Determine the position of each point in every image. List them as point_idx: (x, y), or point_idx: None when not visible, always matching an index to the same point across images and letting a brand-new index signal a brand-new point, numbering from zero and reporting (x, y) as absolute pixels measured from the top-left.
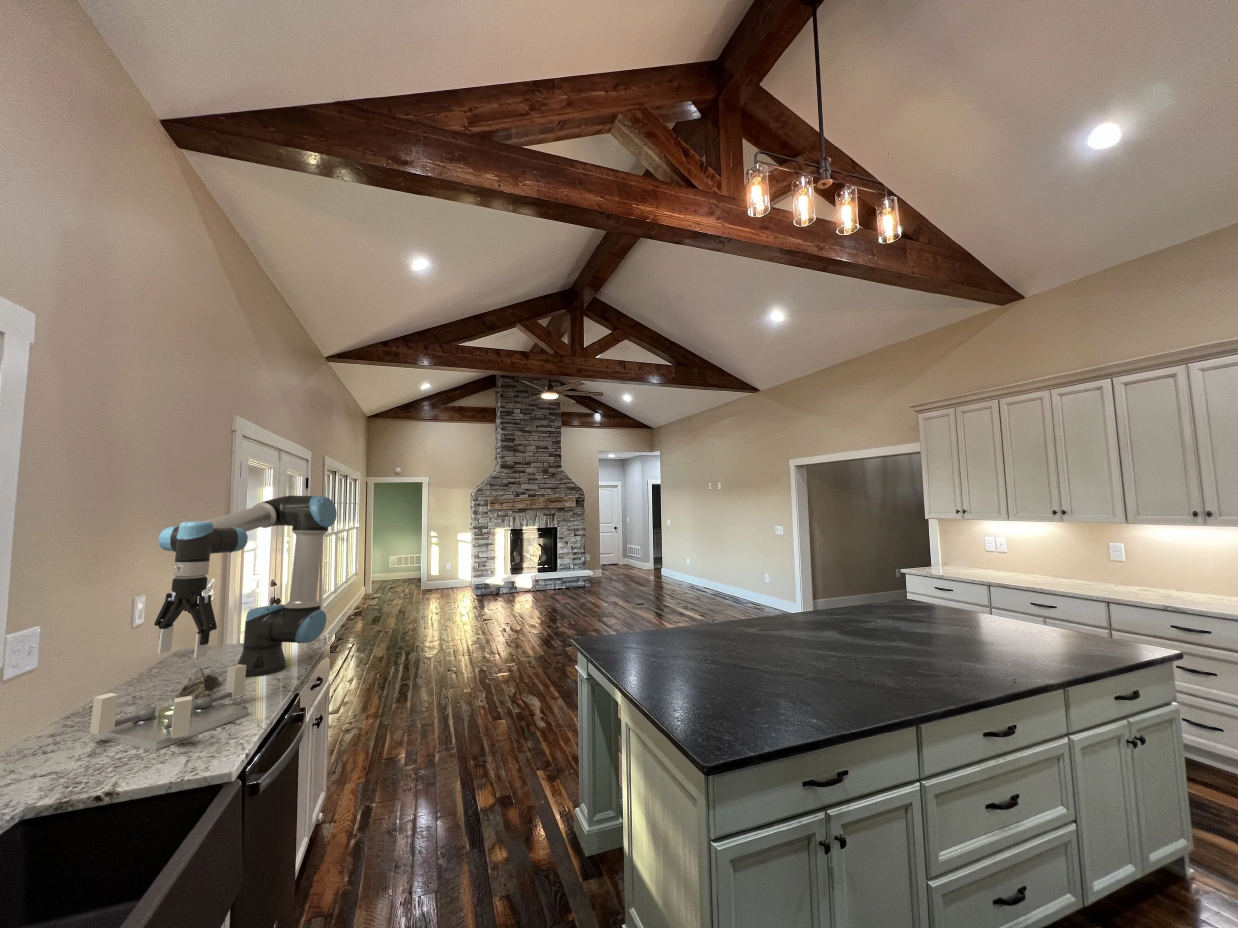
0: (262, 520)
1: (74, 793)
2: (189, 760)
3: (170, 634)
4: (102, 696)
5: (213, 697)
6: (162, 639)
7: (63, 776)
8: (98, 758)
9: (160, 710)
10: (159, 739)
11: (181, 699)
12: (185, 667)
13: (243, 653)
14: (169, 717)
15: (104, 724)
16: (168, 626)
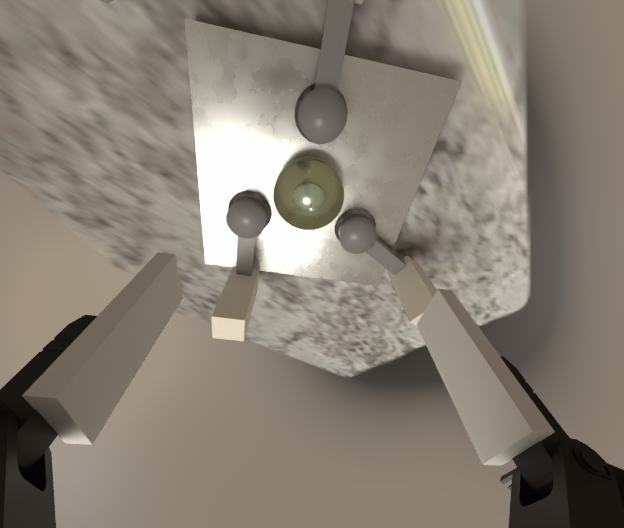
0: None
1: (374, 356)
2: (454, 292)
3: (113, 350)
4: (225, 332)
5: (328, 76)
6: (143, 359)
7: (321, 337)
8: (312, 304)
9: (284, 216)
10: (374, 278)
11: None
12: None
13: None
14: (349, 249)
15: (255, 292)
16: (25, 429)
